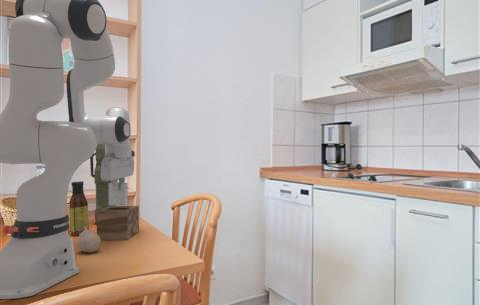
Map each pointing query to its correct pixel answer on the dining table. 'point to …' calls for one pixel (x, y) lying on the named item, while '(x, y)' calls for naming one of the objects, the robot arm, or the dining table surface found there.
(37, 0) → the robot arm
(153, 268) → the dining table surface
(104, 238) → the striped wooden crate
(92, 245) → the garlic bulb
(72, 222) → the sauce bottle
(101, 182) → the thermos
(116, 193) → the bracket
